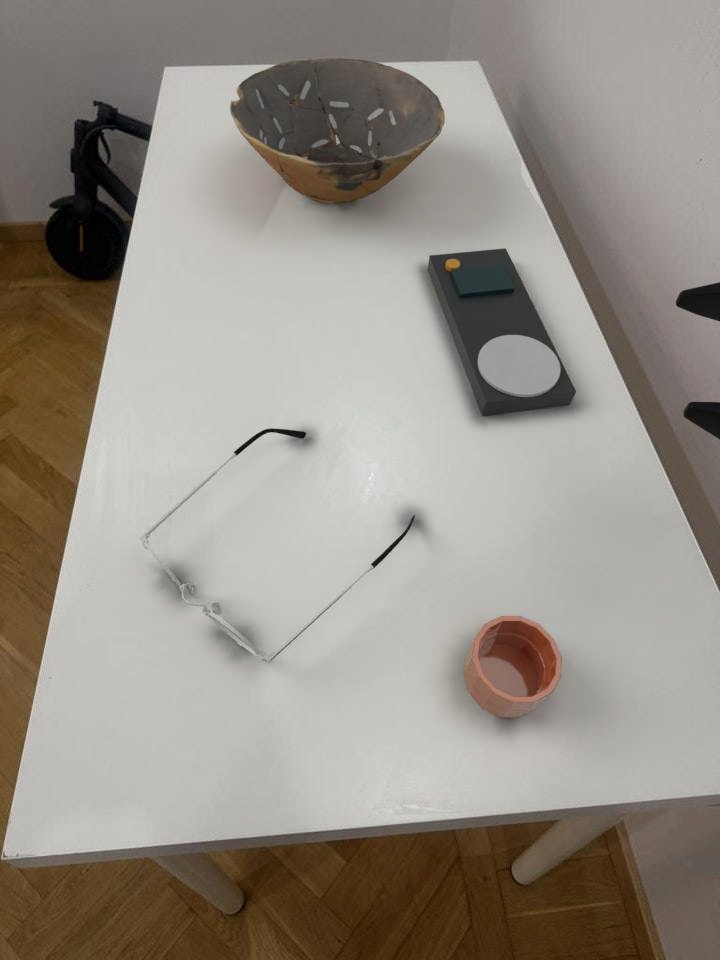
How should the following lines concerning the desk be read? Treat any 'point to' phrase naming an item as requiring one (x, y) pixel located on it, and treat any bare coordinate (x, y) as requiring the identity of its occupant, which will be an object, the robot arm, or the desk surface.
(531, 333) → the scale
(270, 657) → the eyeglasses
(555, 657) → the terracotta cup
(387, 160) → the bowl
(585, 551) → the desk surface
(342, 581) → the desk surface
